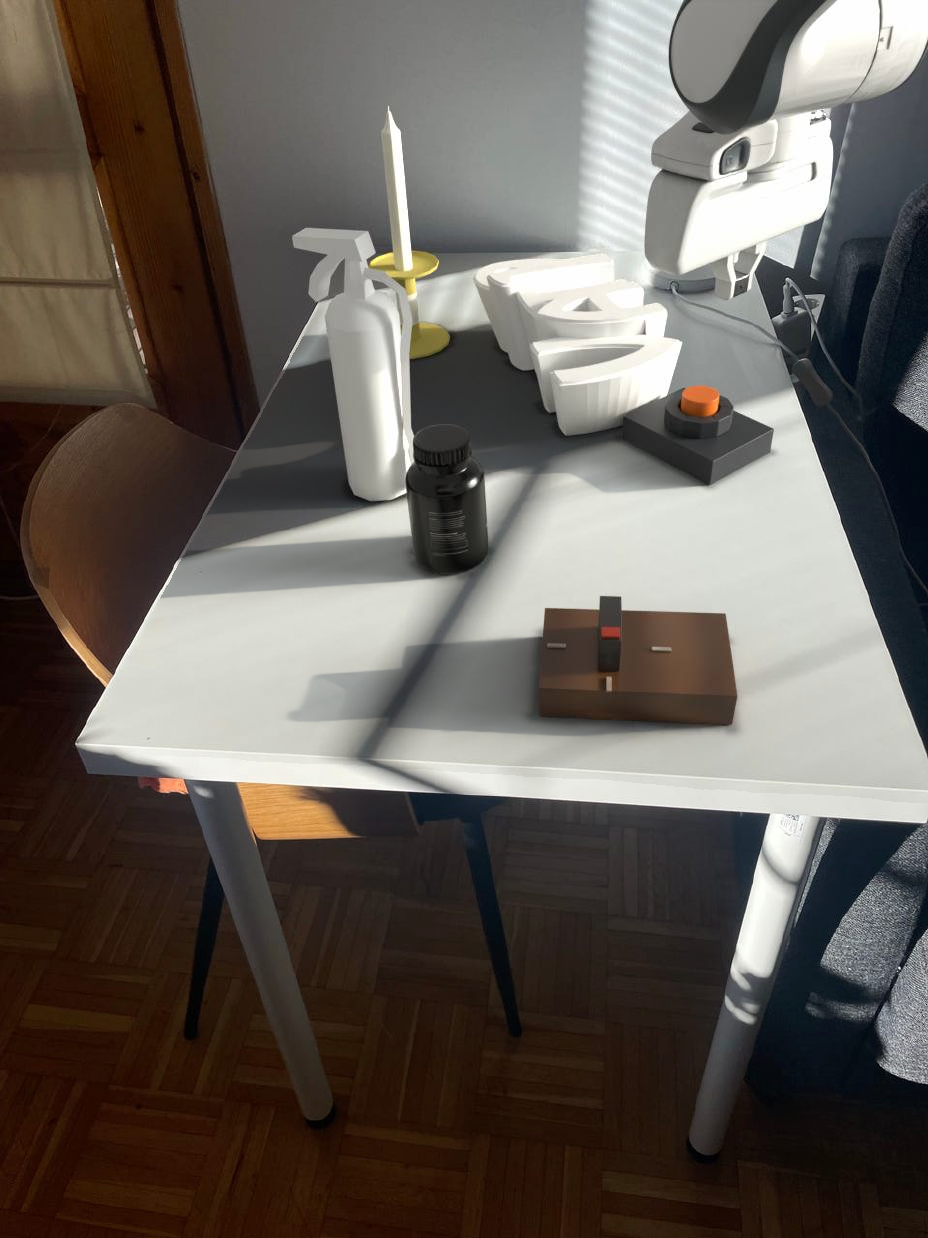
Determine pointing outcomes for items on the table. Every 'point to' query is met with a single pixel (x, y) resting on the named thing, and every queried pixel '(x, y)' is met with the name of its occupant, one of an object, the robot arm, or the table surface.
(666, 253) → the robot arm
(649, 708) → the dial panel
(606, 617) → the black rectangular block
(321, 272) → the fire extinguisher
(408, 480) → the supplement bottle
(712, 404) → the orange push button
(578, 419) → the white wavy slab sculpture
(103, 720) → the table surface
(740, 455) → the push button base
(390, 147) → the candle
